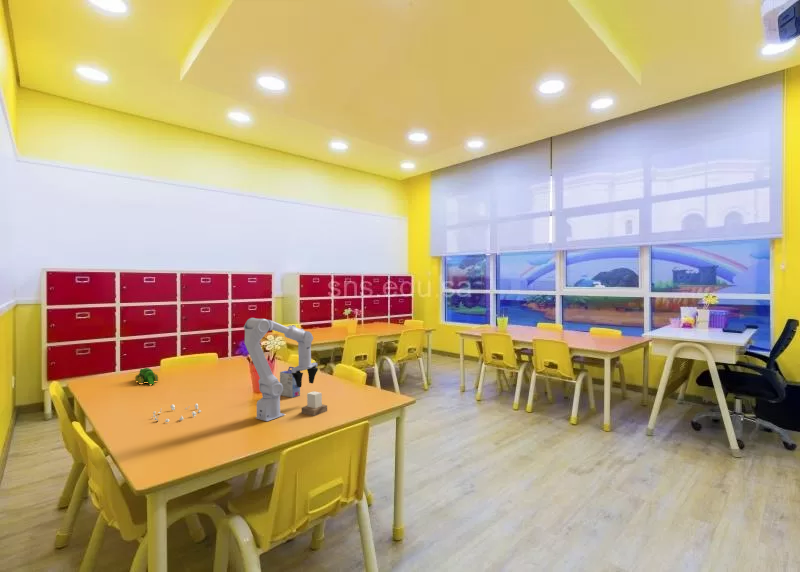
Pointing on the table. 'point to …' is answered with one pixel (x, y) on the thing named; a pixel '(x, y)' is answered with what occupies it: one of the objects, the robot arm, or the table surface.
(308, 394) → the offwhite block
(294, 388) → the ink cartridge box
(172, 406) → the game piece set
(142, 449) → the table surface
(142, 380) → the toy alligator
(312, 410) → the walnut base
